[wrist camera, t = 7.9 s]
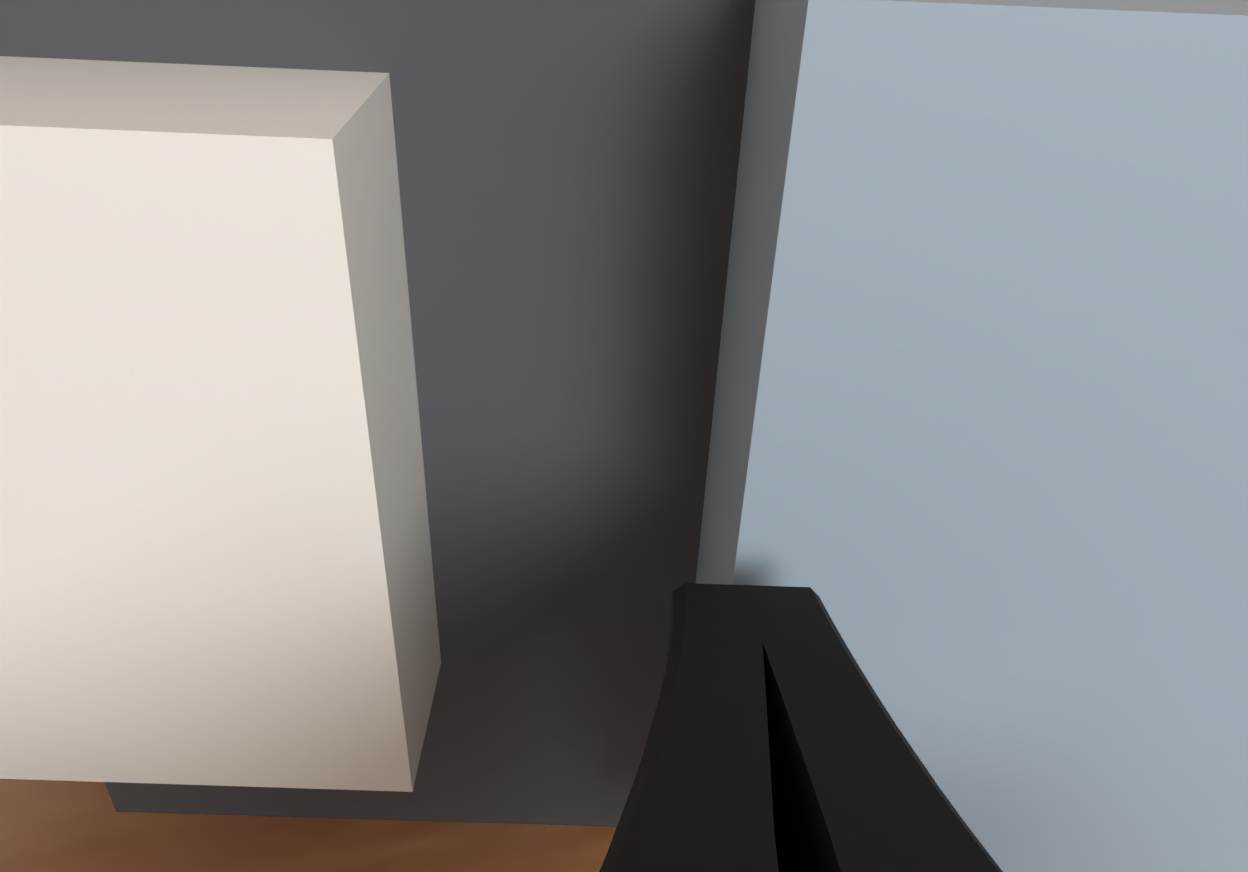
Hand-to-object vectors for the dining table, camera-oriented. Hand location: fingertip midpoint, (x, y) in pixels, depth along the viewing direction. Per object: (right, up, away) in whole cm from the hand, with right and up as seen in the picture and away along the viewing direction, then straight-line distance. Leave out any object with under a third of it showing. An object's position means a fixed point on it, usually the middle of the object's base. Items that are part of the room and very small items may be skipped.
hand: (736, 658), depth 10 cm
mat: (-5, +2, +4) cm, 7 cm away
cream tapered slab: (-7, +2, +2) cm, 7 cm away
